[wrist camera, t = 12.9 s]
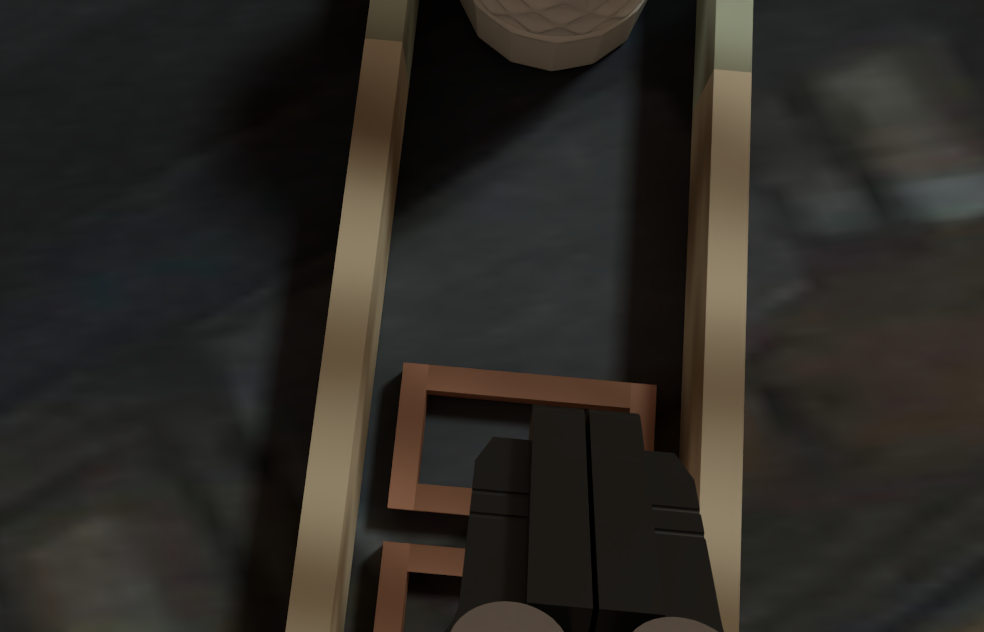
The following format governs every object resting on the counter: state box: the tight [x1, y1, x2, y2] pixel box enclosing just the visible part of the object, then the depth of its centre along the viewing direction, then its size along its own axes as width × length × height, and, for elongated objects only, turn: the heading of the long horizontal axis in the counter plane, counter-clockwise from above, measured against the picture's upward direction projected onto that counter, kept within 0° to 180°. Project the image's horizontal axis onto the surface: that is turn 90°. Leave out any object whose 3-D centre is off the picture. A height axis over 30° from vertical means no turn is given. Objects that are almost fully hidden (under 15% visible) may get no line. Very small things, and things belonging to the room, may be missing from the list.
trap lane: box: [285, 0, 753, 632], centre depth 30 cm, size 32×12×3 cm, turn 175°
